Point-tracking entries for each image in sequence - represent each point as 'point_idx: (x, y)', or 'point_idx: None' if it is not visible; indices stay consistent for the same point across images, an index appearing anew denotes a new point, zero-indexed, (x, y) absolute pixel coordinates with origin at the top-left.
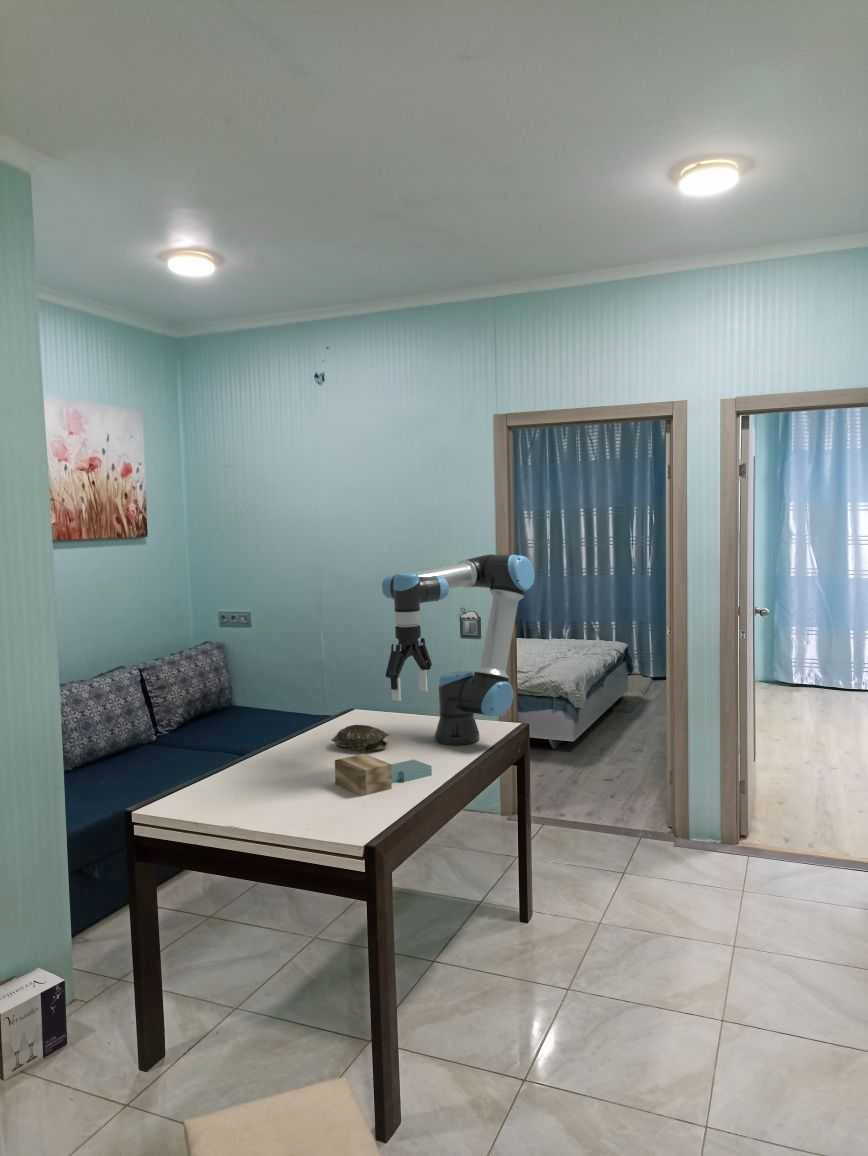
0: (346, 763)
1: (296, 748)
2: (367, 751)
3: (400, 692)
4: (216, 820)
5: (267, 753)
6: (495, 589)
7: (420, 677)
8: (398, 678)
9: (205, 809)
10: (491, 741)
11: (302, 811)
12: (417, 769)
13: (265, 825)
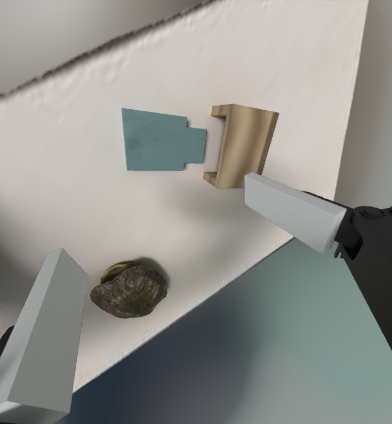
0: (261, 163)
1: (188, 296)
2: (139, 264)
3: (268, 185)
4: (337, 158)
5: (213, 289)
6: None
7: (68, 337)
8: (339, 217)
9: (321, 186)
10: None
11: (308, 122)
12: (157, 113)
13: (341, 115)
